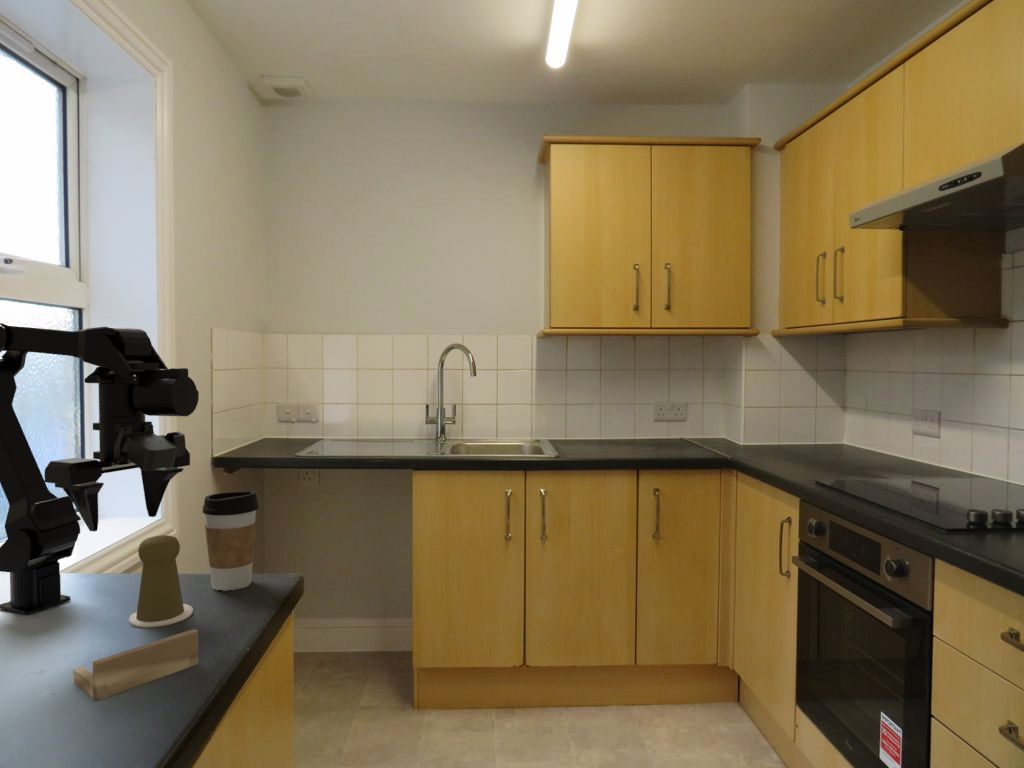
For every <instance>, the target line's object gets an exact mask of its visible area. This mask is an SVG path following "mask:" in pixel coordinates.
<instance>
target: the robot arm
mask: <svg viewBox="0 0 1024 768" xmlns="http://www.w3.org/2000/svg"><path fill="white" fill-rule="evenodd" d="M2 352H4V353H3V355H1V356H0V486H1V488H2V490H3V491H2V492H3V493H4V495H5V497H6V499H7V502H8V506H9V507H8V511H7V514H6V520H5V522H4V529H5V533H6V537H7V539H6V540H5V542H4V543H2V545H1V546H0V572H2V573H9V581H10V582H9V584H10V585H9V589H10V590H9V592H10V600H9V601H7V602H4V603H1V604H0V610H4V611H9V612H14V613H17V614H18V613H19V614H22V615H23V614H24V615H28V614H32V613H35V612H38V611H42V610H44V609H47V608H48V609H49V608H50V607H54V606H57V605H60V604H62V603H65V602H68V601H70V600H71V596H70V595H66V594H61V593H62V592H61V591H62V590H61V587H62V586H61V583H62V582H61V574H60V571H61V570H60V569H61V568H60V562H59V560H62V559H65V558H70V557H71V556H72V555H73V552H74V548H75V545H76V542H77V541H78V538H79V535H80V534H81V526H80V523H79V521H81V520H83V523H85V526H86V527H87V529H88V530H89V532H97V531H98V526H99V493H100V491H101V490H102V488H103V486H104V485H105V483H104V482H98V480H99V479H100V478H101V477H102V475H103V474H107V473H114V472H115V473H116V472H120V471H126V470H131V469H132V470H133V469H140V475H141V481H142V488H143V496H144V501H145V507H146V512H147V515H148V517H152V518H154V517H157V513H158V512H159V508H160V505H161V504H162V500H163V497H164V495H165V491H166V489H167V488H168V485H169V483H170V481H171V480H172V479H173V478H175V476H177V474H179V473H182V472H183V471H184V468H183V467H188V466H191V454H190V453H191V452H189V450H188V449H187V448H186V435H185V434H184V433H181V432H180V431H173V432H167V433H166V435H164V434H161V435H158V434H155V431H154V425H153V423H152V422H153V421H146V416H149V417H150V416H152V417H155V416H156V417H188V416H190V415H192V414H193V413H194V412H195V410H196V409H197V407H198V403H199V399H200V398H199V397H200V396H199V395H200V394H199V390H198V388H197V386H196V383H195V382H194V380H193V379H192V378H191V377H189V369H188V368H187V367H179V368H175V367H174V368H173V367H172V368H168V367H167V365H166V364H165V362H164V361H163V360H162V358H161V357H160V355H159V354H158V352H157V350H156V348H155V347H154V346H153V345H152V341H151V339H150V337H149V336H148V333H147V332H146V331H145V330H143V329H140V328H134V327H133V328H131V327H119V326H118V327H117V326H115V327H114V326H98V327H89V328H84V329H80V330H69V329H68V330H67V329H60V328H59V329H58V328H47V327H36V326H35V327H33V326H29V325H26V324H20V323H19V324H18V323H6V322H5V323H4V322H0V353H2ZM29 353H37V354H47V355H59V356H68V357H74V358H77V359H79V360H81V361H82V362H83V363H86V364H89V365H94V366H96V368H95V370H93V372H92V373H90V374H89V375H87V376H86V377H85V378H84V383H85V384H98V422H92V431H98V433H99V435H98V437H99V438H98V439H99V440H98V441H99V450H97V451H93V452H92V453H93V455H92V459H91V458H83V457H82V458H81V457H73V458H72V457H71V458H64V459H57V460H49V461H50V462H49V463H48V464H47V465H46V467H45V468H44V476H43V475H42V471H41V469H40V468H39V465H38V462H37V461H36V458H35V455H34V454H33V451H32V449H31V446H30V445H29V444H30V443H29V442H28V438H26V435H25V432H24V431H23V428H22V425H21V423H20V421H19V418H18V416H17V414H16V412H15V410H14V406H13V403H14V399H15V395H16V392H17V388H18V387H17V383H16V379H15V377H16V375H18V374H19V373H20V372H21V371H22V369H23V368H25V363H26V359H27V354H29ZM46 483H47V484H48V483H50V484H54V487H55V488H60V489H62V490H63V491H64V492H65V494H66V496H61V497H58V496H56V495H55V494H54V493H52V492H51V491H50V490H49V488H48V486H47V484H46ZM76 509H77V510H76ZM76 511H77V512H78V514H79V515H80V516H79V515H78V514H77V512H76Z"/></svg>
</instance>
